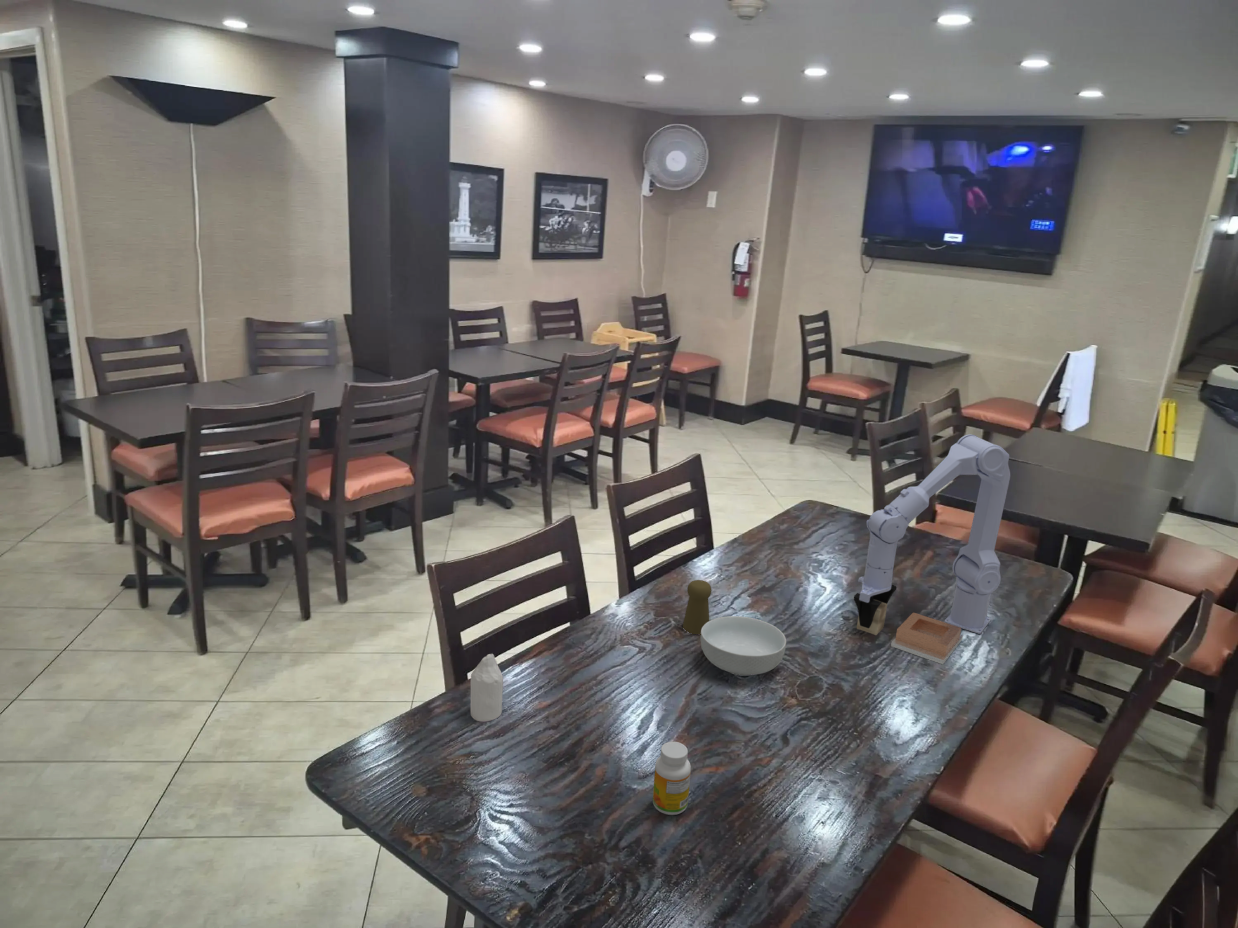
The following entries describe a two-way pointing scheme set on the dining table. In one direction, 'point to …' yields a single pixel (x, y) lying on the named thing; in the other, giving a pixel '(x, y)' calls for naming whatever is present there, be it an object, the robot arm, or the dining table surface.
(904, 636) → the orange-brown socket block
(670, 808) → the supplement bottle
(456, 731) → the dining table surface
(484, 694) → the grey pointed cylinder
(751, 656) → the cereal bowl
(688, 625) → the olive salt shaker
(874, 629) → the birch block
